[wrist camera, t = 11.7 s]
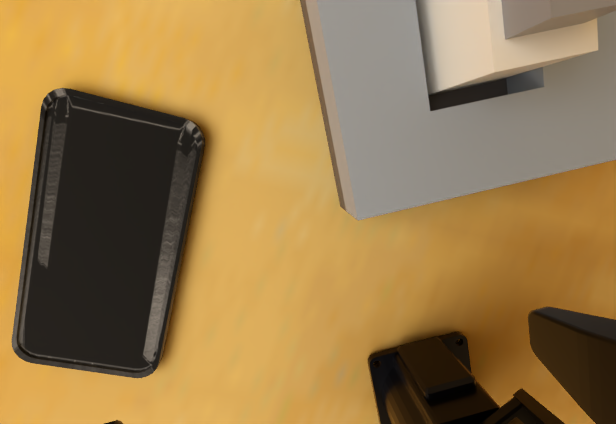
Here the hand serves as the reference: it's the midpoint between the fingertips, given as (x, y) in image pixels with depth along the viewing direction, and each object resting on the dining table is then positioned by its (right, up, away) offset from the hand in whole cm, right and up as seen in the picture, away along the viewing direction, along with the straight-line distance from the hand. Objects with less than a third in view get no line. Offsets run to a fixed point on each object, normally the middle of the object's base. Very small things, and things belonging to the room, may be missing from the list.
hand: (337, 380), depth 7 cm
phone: (-12, +2, +12) cm, 17 cm away
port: (+6, +13, +12) cm, 19 cm away
